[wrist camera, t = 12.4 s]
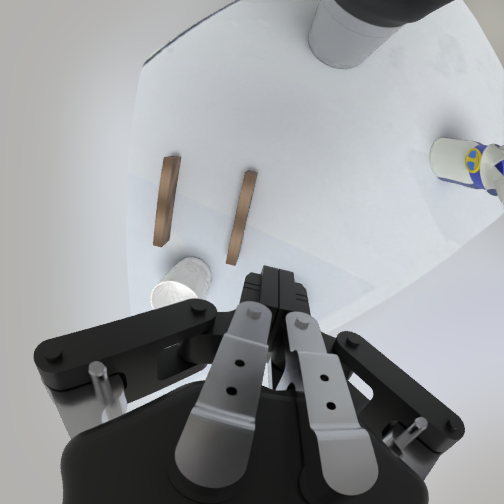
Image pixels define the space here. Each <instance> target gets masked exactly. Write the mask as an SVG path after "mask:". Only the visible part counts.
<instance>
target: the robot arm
mask: <svg viewBox="0 0 504 504" xmlns="http://www.w3.org/2000/svg"><path fill="white" fill-rule="evenodd" d="M452 1H454V0H320V1H319V4H318V7H317V11H316V14H315V17H314V20H313V24H312V27H311V30H310V34H309V45H310V48H311V50H312V52H313V53H314V54H315V56H316V57H317V58H318V59H320V60H321V61H322V62H324V63H325V64H327V65H329V66H332V67H335V68H340V69H348V68H353V67H355V66H357V65H359V64H360V63H361V62H363V61H364V60H365V59H366V58H367V57H368V56H369V55H370V54H372V53H373V52H374V51H375V50H376V49H377V48H378V47H379V46H381V45H382V44H383V43H384V42H385V41H386V40H387V39H389V38H390V37H391V36H392V35H393V34H394V33H396V32H397V31H398V30H399V29H400V28H401V27H402V26H404V25H405V24H406V23H412V22H416V21H418V20H420V19H422V18H424V17H425V16H427V15H428V14H430V13H432V12H433V11H435V10H437V9H439V8H440V7H442V6H444V5H446V4H448V3H450V2H452ZM177 343H178V344H177ZM175 344H176V345H175ZM172 345H173V346H172ZM170 346H171V347H170ZM167 347H168V348H167ZM165 348H166V349H165ZM268 352H271V358H270V360H269V363H268V382H269V388H267V387H265V386H262V381H263V375H264V370H265V364H266V359H267V353H268ZM34 361H35V364H36V366H37V368H38V371H39V373H40V375H41V379H42V382H43V384H44V386H45V388H46V390H47V392H48V394H49V396H50V397H51V399H52V401H53V402H54V403H55V405H56V407H57V409H58V411H59V414H60V416H61V418H62V420H63V423H64V425H65V427H66V429H67V431H68V433H69V435H70V437H71V440H70V441H69V443H68V444H67V445H66V447H65V449H64V451H63V454H62V458H61V475H62V481H63V504H428V501H429V497H428V490H427V487H426V485H425V482H424V480H425V478H426V476H427V475H428V474H429V472H430V471H431V469H432V468H433V466H434V465H435V463H436V461H437V460H438V458H439V457H440V455H442V454H443V453H444V452H445V451H446V450H448V449H449V448H450V447H452V446H453V445H454V444H455V443H456V442H457V441H459V440H460V439H461V438H462V437H463V435H464V433H465V427H464V424H463V422H462V420H461V418H460V417H459V416H458V415H456V414H455V413H454V412H453V411H451V410H450V409H449V408H448V407H447V406H445V405H444V404H443V403H442V402H441V401H439V400H438V399H437V398H436V397H434V396H433V395H432V394H431V393H430V392H428V391H427V390H426V389H425V388H424V387H422V386H421V385H420V384H419V383H417V382H416V381H415V380H414V379H413V378H411V377H410V376H409V375H408V374H406V373H405V372H404V371H403V370H402V369H400V368H399V367H398V366H397V365H395V364H394V363H393V362H392V361H390V360H389V359H388V358H387V357H385V356H384V355H383V354H382V353H381V352H379V351H378V350H377V349H376V348H375V347H373V346H372V345H371V344H370V343H368V342H367V341H366V340H365V339H364V338H362V337H361V336H360V335H358V334H356V333H353V332H348V331H344V332H340V333H339V334H338V335H337V337H336V338H334V337H332V336H329V335H327V334H325V333H323V332H321V331H320V327H319V324H318V322H317V321H316V320H315V319H314V318H313V317H312V316H311V315H310V309H309V303H308V297H307V291H306V289H305V288H304V287H303V285H302V284H300V283H295V282H294V273H293V272H290V271H286V270H282V269H279V270H278V269H277V268H273V267H269V266H265V265H264V266H263V269H262V273H261V274H257V273H252V272H251V273H250V274H248V275H247V276H246V278H245V282H244V286H243V290H242V294H241V299H240V303H239V305H238V306H237V308H236V309H235V310H233V311H230V312H217V309H216V307H215V306H214V305H213V304H212V303H210V302H208V301H206V300H203V299H197V298H192V299H187V300H184V301H181V302H177V303H174V304H171V305H168V306H164V307H161V308H158V309H154V310H151V311H148V312H144V313H141V314H138V315H134V316H131V317H127V318H125V319H121V320H117V321H114V322H111V323H107V324H103V325H100V326H96V327H92V328H89V329H85V330H82V331H78V332H74V333H71V334H67V335H63V336H60V337H56V338H52V339H48V340H45V341H43V342H42V343H40V344H39V345H38V346H37V348H36V349H35V351H34ZM207 364H212V366H211V368H210V371H209V373H208V376H207V378H206V380H204V381H196V382H192V383H188V384H185V385H183V386H181V387H178V388H176V389H175V390H173V391H171V392H169V393H167V394H165V395H163V396H161V397H159V398H157V399H155V400H153V401H151V402H149V403H147V404H145V405H143V406H140V407H138V408H136V409H134V410H132V411H130V412H128V413H125V412H126V410H127V404H128V403H130V402H133V401H135V400H138V399H140V398H142V397H145V396H147V395H149V394H152V393H154V392H156V391H158V390H161V389H163V388H165V387H167V386H169V385H172V384H174V383H176V382H178V381H180V380H182V379H184V378H186V377H189V376H191V375H193V374H195V373H197V372H199V371H201V370H203V369H204V368H205V367H206V366H207ZM353 372H354V373H355V374H357V375H358V376H359V377H360V378H361V379H362V380H363V381H364V382H365V383H366V384H368V385H369V386H370V387H371V388H372V390H373V398H372V399H371V400H369V399H367V398H366V397H365V396H364V395H363V394H362V393H361V392H360V391H359V390H357V389H356V388H355V387H354V386H353V385H352V384H351V383H350V382H349V381H348V380H349V378H350V377H351V376H352V374H353Z"/></svg>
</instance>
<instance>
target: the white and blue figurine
mask: <svg viewBox="0 0 504 504" xmlns="http://www.w3.org/2000/svg"><path fill="white" fill-rule="evenodd" d="M430 164H431V167H432V170H433V172H434V174H435V175H436V176H437V177H438V178H439V179H441V180H443V181H446V182H451V183H456V184H460V185H463V186H466V187H470V188H473V189H485V190H486V191H487V192H488V193H489V194H491V195H494V196H498V197H499V199H500V201H501V202H502V204H503V205H504V145H503V146H499V145H497V144H490V145H488V146H486V145H483V144H481V143H479V142H475V141H467V140H458V139H451V138H440V139H438V140H436V141H435V142H434V144H433V146H432V148H431V151H430Z"/></svg>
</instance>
